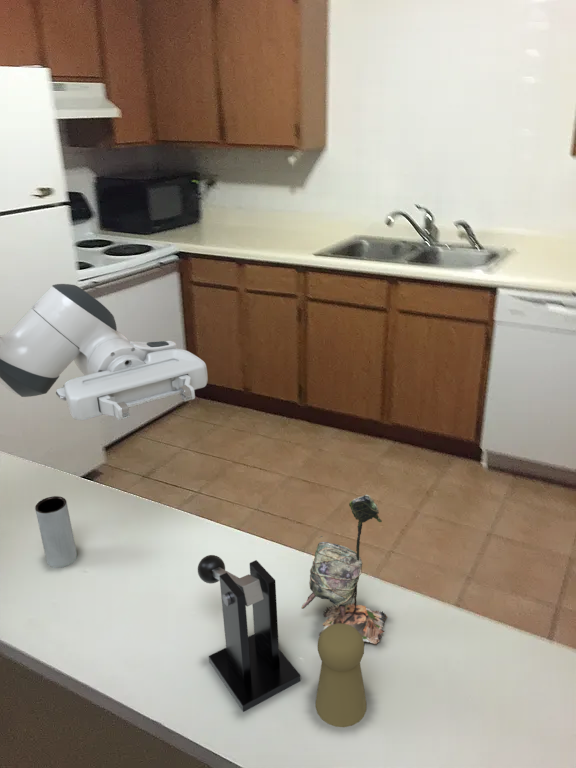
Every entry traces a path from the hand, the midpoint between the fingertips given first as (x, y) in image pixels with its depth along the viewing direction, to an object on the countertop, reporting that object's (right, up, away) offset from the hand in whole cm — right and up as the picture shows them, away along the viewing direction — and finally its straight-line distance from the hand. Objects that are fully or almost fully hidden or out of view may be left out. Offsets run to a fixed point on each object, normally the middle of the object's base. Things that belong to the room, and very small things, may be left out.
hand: (157, 404), depth 90 cm
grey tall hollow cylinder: (-18, -25, +15) cm, 34 cm away
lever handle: (+10, -23, -7) cm, 26 cm away
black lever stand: (+13, -33, -7) cm, 36 cm away
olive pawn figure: (+24, -35, -11) cm, 44 cm away
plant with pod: (+25, -30, 0) cm, 39 cm away
